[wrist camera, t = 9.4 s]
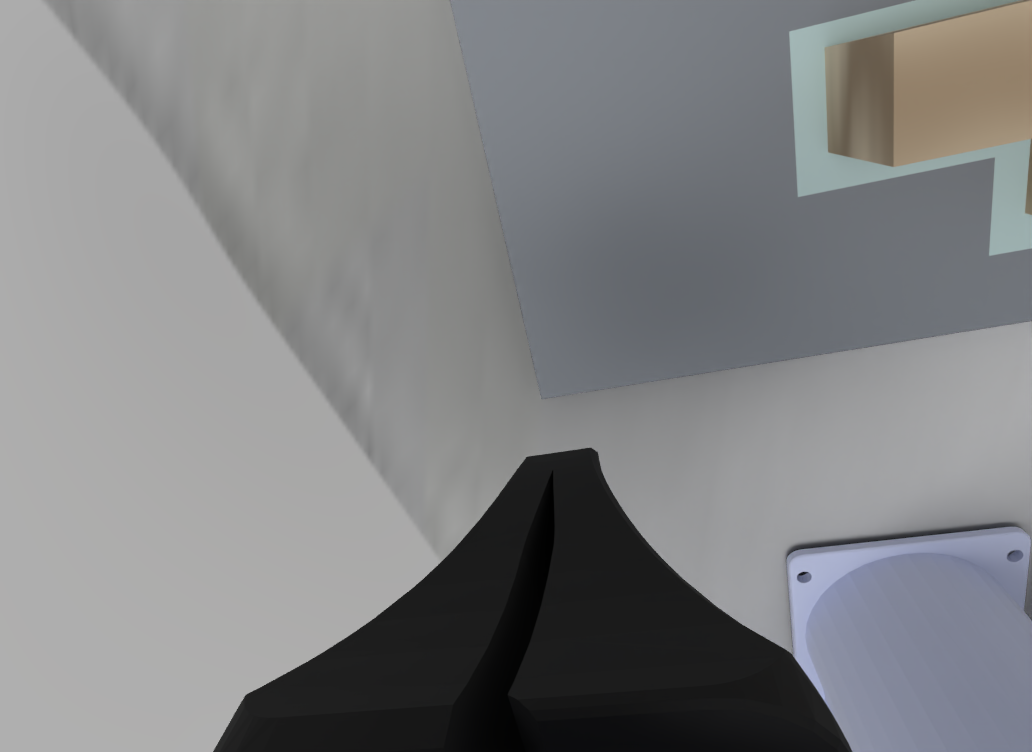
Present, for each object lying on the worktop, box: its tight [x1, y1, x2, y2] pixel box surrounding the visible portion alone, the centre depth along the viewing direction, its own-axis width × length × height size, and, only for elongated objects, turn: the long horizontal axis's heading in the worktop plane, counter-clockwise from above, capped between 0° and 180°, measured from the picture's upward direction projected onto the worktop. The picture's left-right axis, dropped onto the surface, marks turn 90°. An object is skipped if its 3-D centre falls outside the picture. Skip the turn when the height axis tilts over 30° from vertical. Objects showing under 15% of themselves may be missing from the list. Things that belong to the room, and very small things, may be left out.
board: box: [450, 0, 1032, 399], centre depth 17 cm, size 15×19×1 cm
